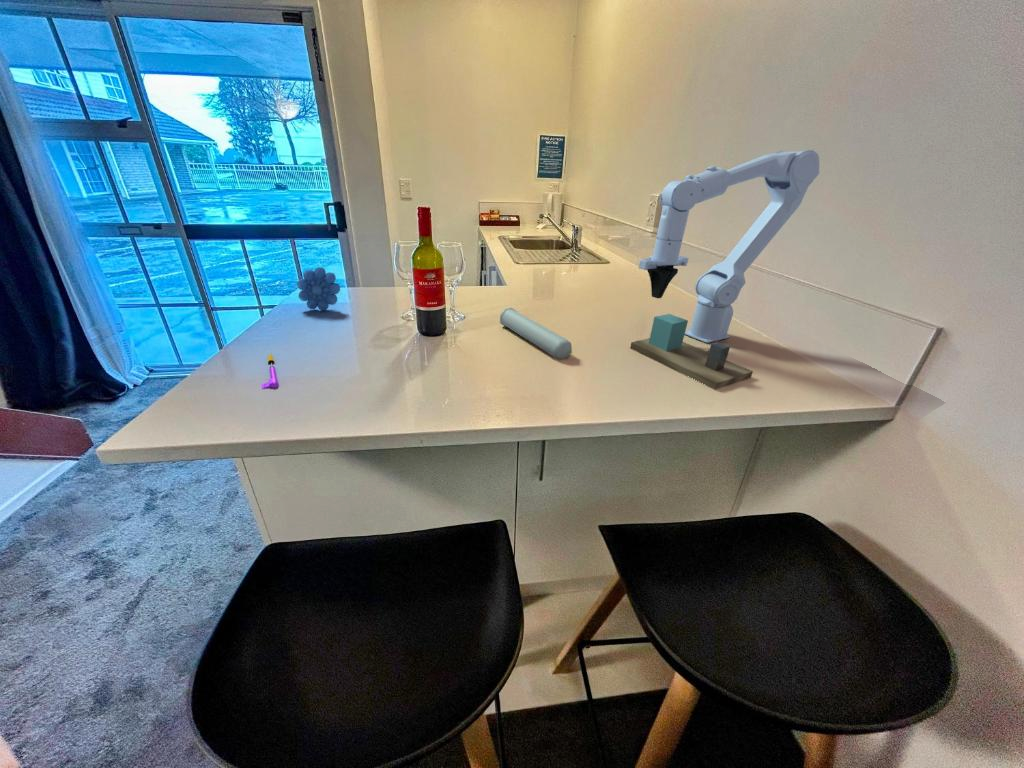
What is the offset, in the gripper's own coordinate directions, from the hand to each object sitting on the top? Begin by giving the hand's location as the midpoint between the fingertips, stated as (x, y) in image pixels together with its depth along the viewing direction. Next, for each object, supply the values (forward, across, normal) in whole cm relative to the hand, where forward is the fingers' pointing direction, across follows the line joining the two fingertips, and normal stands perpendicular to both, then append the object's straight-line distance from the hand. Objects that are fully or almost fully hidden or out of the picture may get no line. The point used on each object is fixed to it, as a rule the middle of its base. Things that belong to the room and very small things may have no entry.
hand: (656, 297), depth 98 cm
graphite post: (+9, +4, +22) cm, 24 cm away
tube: (+11, +29, -10) cm, 32 cm away
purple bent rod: (+12, +85, -19) cm, 88 cm away
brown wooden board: (+10, +4, +15) cm, 19 cm away
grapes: (+11, +70, -55) cm, 89 cm away
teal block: (+9, +4, +8) cm, 13 cm away
